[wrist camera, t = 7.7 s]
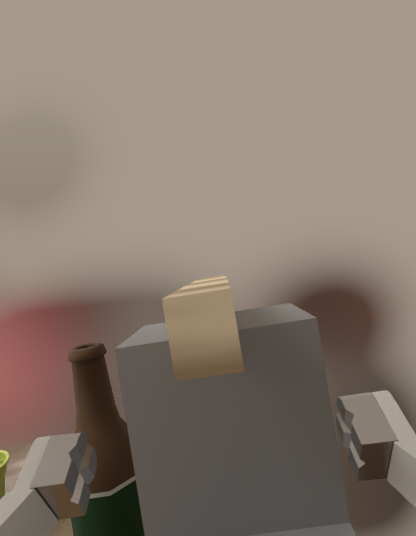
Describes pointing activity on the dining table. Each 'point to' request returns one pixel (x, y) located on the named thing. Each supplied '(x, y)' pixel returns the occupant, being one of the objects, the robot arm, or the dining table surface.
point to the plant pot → (3, 470)
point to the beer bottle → (104, 450)
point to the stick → (203, 330)
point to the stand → (236, 434)
